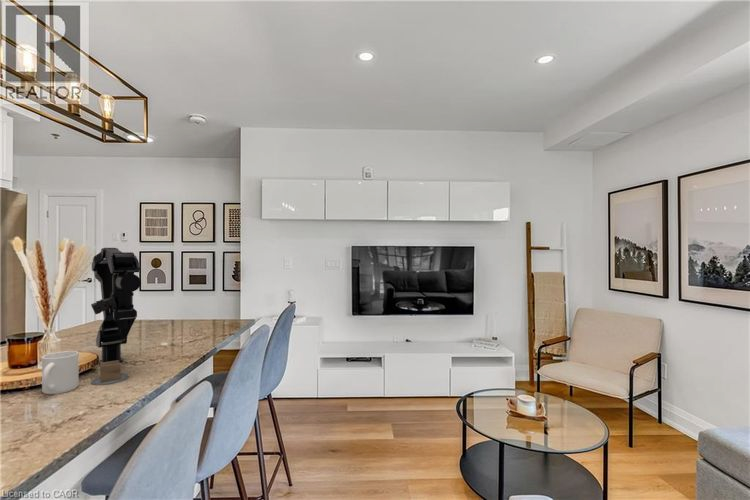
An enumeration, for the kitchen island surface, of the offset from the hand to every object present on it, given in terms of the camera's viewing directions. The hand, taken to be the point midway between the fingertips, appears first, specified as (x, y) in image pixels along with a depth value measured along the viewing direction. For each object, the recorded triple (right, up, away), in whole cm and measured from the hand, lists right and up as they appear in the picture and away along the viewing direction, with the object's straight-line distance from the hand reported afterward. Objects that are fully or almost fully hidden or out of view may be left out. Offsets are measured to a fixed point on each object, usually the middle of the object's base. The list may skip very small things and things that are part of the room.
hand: (122, 336), depth 129 cm
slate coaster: (+1, -12, -8) cm, 14 cm away
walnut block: (+1, -12, -8) cm, 14 cm away
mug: (-7, -12, -18) cm, 23 cm away
